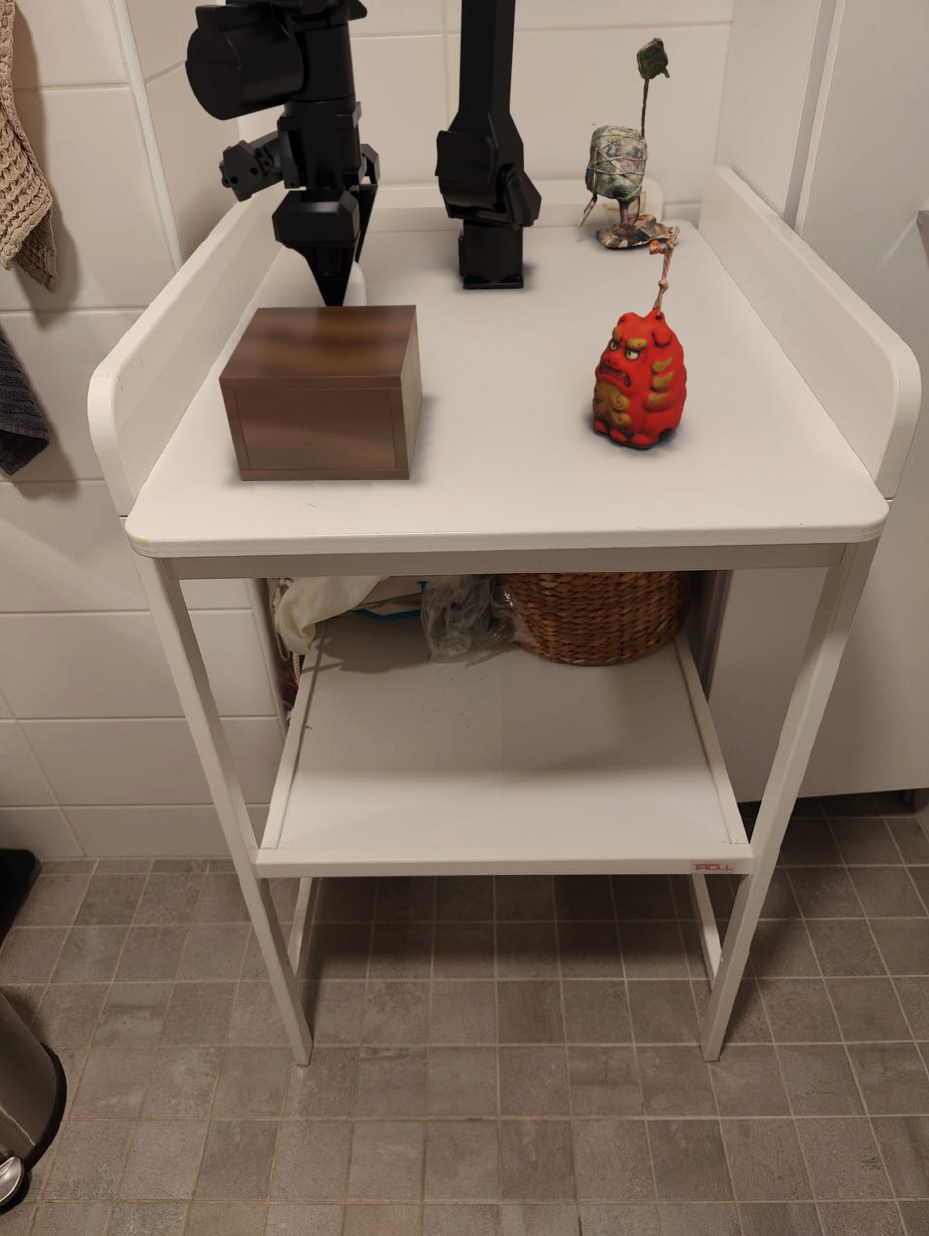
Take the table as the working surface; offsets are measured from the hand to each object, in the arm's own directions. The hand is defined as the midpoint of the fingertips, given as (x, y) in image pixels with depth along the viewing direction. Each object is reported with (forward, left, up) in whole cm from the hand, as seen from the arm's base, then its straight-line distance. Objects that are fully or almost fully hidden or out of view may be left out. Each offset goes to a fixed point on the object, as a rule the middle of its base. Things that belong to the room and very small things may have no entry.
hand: (342, 292), depth 81 cm
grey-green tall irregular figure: (-28, -31, -6) cm, 43 cm away
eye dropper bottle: (0, -1, -6) cm, 6 cm away
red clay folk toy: (-25, +14, -6) cm, 30 cm away
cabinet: (-1, +15, -6) cm, 17 cm away
